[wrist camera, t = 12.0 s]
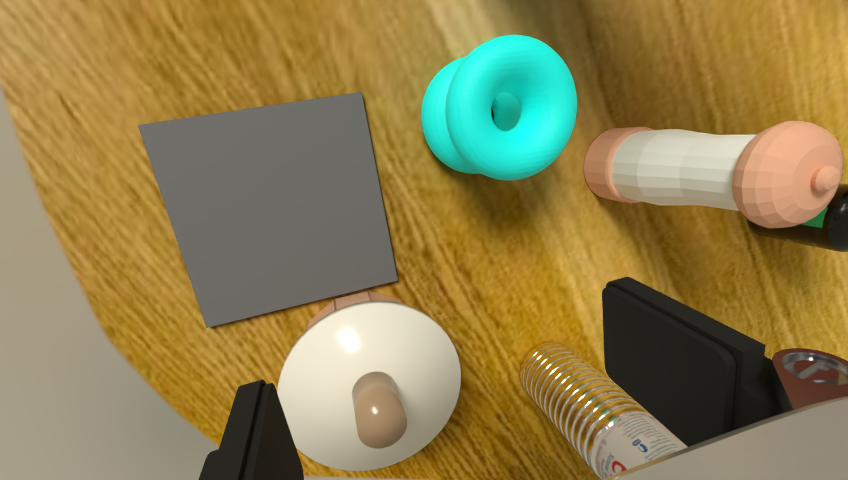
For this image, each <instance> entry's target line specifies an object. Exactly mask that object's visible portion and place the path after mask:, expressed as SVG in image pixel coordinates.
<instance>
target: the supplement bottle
mask: <svg viewBox="0 0 848 480" xmlns="http://www.w3.org/2000/svg"><path fill="white" fill-rule="evenodd" d="M748 222H749V225H750V227H751V228H752V229H753V231H755V232H756V233H757V234H759V235H763V236H767V237H771V238H776V239H781V240H785V241H790V242H795V243H800V244H805V245H810V246H815V247H819V248H824V249H829V250H834V251H840V252H848V184H839V185H838V188H837V190H836V192H835V195H834V197H833V198H832V199H831V201H830V202H829V204H828V205H827V206H826V208H825V209H824V210H823V211H821V212H820V213H819V214H818V215H817V216H816V217H814V218H812V219H810V220H808V221H806V222H804V223H801V224H798V225H796V226H793V227H784V228H766V227H763V226H760V225H757V224H756V223H754V222H752V221H750V220H749V219H748Z"/></svg>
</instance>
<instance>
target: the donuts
mask: <svg viewBox="0 0 848 480" xmlns="http://www.w3.org/2000/svg"><path fill="white" fill-rule="evenodd" d="M491 106H492V109H493V113H494V120H492V116H491ZM576 115H577V94H576V88H575V84H574V81H573V78H572V75H571V73H570V71H569V69H568V67H567V65H566V64H565V62H564V61H563V59H562V58H561V57H560V56H559V55H558V54H557V53H556V52H555V51H554V50H553V49H552V48H551V47H550V46H548V45H547V44H545V43H543V42H542V41H540V40H538V39H535V38H532V37H529V36H523V35H505V36H500V37H496V38H493V39H491V40H489V41H486V42H485V43H483V44H481V45H479V46H478V47H477V48H475V49H474V50H473V51H472V52H470V53H469V54H468V55H467V56H466V57H462V58H459V59H457V60H455V61H453V62H451V63H449V64H448V65H446V66H445V67H444V68H442V69H441V70H440V71H439V72H438V73H437V74H436V75H435V77H434V78H433V79H432V81H431V82H430V84H429V86H428V88H427V90H426V92H425V95H424V98H423V102H422V109H421V123H422V129H423V133H424V136H425V139H426V141H427V144H428V146H429V147H430V149H431V151H432V152H433V153H434V155H435V156H436V157H437V158H438V159H439V160H440V161H441V162H443V163H444V164H445V165H447V166H448V167H450V168H452V169H454V170H456V171H459V172H463V173H469V174H480V173H481V174H483V175H485V176H487V177H490V178H494V179H499V180H519V179H523V178H527V177H530V176H532V175H535V174H537V173H539V172H540V171H542V170H544V169H545V168H547V167H548V166H549V165H550V164H551V163H553V162H554V160H555V159H556V158H557V157H558V156H559V155H560V154H561V152H562V151H563V149H564V148H565V146H566V145H567V143H568V141H569V139H570V137H571V134H572V132H573V129H574V125H575V121H576Z"/></svg>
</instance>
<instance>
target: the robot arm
mask: <svg viewBox="0 0 848 480" xmlns="http://www.w3.org/2000/svg"><path fill="white" fill-rule="evenodd" d="M602 304H603V330H604V357H605V369H606V372H607V374H608V376H609V377H610V378H611V380H612V381H614V382H615V383H616V384H617V385H618V386H619V387H620V388H622V389H623V390H624V391H625V392H626V393H627V394H628V395H629V396H631V397H632V398H633V399H634V400H635V401H636V402H637V403H639V404H640V405H641V406H642V407H643V408H644V409H645V410H646V411H648V412H649V413H650V414H651V415H652V416H653V417H654V418H656V419H657V420H658V421H659V422H660V423H661V424H662V425H663V426H665V427H666V428H667V429H668V430H669V431H670V432H671V433H672V434H674V435H675V436H676V437H677V438H678V439H679V440H680V441H682V442H683V443H684V444H685V445H686V446H687V448H684V449H682V450H679V451H676V452H673V453H671V454H668V455H665V456H663V457H660V458H657V459H654V460H652V461H649V462H646V463H644V464H641V465H638V466H636V467H633V468H630V469H628V470H625V471H622V472H620V473H617V474H614V475H612V476H609V477H606V478H604V479H601V480H848V361H846V360H844V359H842V358H840V357H837V356H835V355H832V354H829V353H825V352H821V351H817V350H811V349H800V348H792V349H785V350H781V351H779V352H777V353H775V355H774V356H773V357H772V360H771V359H769V358H767V357H765V356H764V352H765V345H764V344H762V343H760V342H758V341H756V340H754V339H752V338H750V337H748V336H746V335H744V334H742V333H740V332H738V331H736V330H734V329H732V328H730V327H728V326H726V325H724V324H722V323H720V322H718V321H716V320H714V319H712V318H710V317H708V316H706V315H704V314H702V313H700V312H698V311H696V310H694V309H692V308H690V307H688V306H686V305H684V304H682V303H680V302H678V301H676V300H674V299H672V298H670V297H668V296H666V295H664V294H662V293H660V292H658V291H656V290H654V289H652V288H650V287H648V286H646V285H644V284H642V283H640V282H638V281H636V280H634V279H632V278H630V277H624V278H621V279H617V280H614V281H610V282H608V283H607V285H606V288H604V289H603V291H602ZM199 480H304V476H303V469H302V465H301V462H300V459H299V456H298V453H297V450H296V447H295V444H294V441H293V438H292V435H291V432H290V429H289V426H288V423H287V420H286V417H285V415H284V412H283V409H282V406H281V403H280V400H279V397H278V394H277V391H276V388H275V386H274V384H273V383H270V384H267V385H266V383H265V381H264V380H259V381H256V382H252V383H249V384H245V385H242V386H239V388H238V390H237V393H236V396H235V399H234V403H233V406H232V409H231V412H230V415H229V418H228V422H227V425H226V428H225V431H224V434H223V438H222V441H221V444H220V447H219V449H218V450H215V451H212V452H210V453H209V454H208V456H207V458H206V460H205V463H204V466H203V469H202V472H201V475H200V477H199Z"/></svg>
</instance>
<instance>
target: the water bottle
mask: <svg viewBox="0 0 848 480" xmlns="http://www.w3.org/2000/svg"><path fill="white" fill-rule="evenodd" d="M520 380H521V383H522V385H523V387H524V389H525V390H526V392H527V393H528V395H529V396H530V397H531V398H532V399H533V401H534V402H535V403H536V404H537V405H538V407H539V408H540V409H541V410H542V411H543V412H544V414H545V415H546V416H547V417H548V418H549V419H550V420H551V422H552V423H553V424H554V425H555V426H556V428H557V429H558V430H559V431H560V432H561V434H562V435H563V436H564V437H565V438H566V439H567V441H568V442H569V443H570V444H571V445H572V446H573V448H574V449H575V450H576V451H577V452H578V453H579V455H580V456H581V457H582V458H583V459H584V460H585V462H586V463H587V464H588V465H589V466H590V467H591V469H592V470H593V471H594V472H595V474H596V475H597V476H598V477H600V478H601V479H604V478H606V477H609V476H612V475H614V474H617V473H620V472H622V471H625V470H628V469H630V468H633V467H636V466H638V465H641V464H644V463H646V462H649V461H652V460H654V459H657V458H660V457H663V456H665V455H668V454H671V453H673V452H676V451H679V450H682V449H684V448H687V446H686V445H685V444H684V443H683V442H682V441H680V440H679V439H678V438H677V437H676V436H675V435H674V434H672V433H671V432H670V431H669V430H668V429H667V428H666V427H665V426H663V425H662V424H661V423H660V422H659V421H658V420H657V419H656V418H654V417H653V416H652V415H651V414H650V413H649V412H648V411H646V410H645V409H644V408H643V407H642V406H641V405H640V404H638V403H637V402H636V401H635V400H634V399H632V398H631V397H630V396H629V395H627V394H626V393H625V392H623V391H622V390H621V389H620V388H619V387H617V386H616V385H615V384H614V383H612V382H611V381H610V380H609V379H607V378H606V377H605V376H603V375H602V374H601V373H600V372H599V371H597V370H596V369H595V368H594V367H592V366H591V365H590V364H589V363H587V362H586V361H585V360H584V359H582V358H581V357H580V356H579V355H578V354H576V353H575V352H574V351H573V350H571V349H569V348H568V347H567V346H565V345H563V344H561V343H557V342H545V343H542V344H540V345H538V346H536V347H534V348H533V349H532V350H531V351H530V352H529V353H528V354H527V355H526V356H525V358H524V360H523V362H522V364H521V368H520Z"/></svg>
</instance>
